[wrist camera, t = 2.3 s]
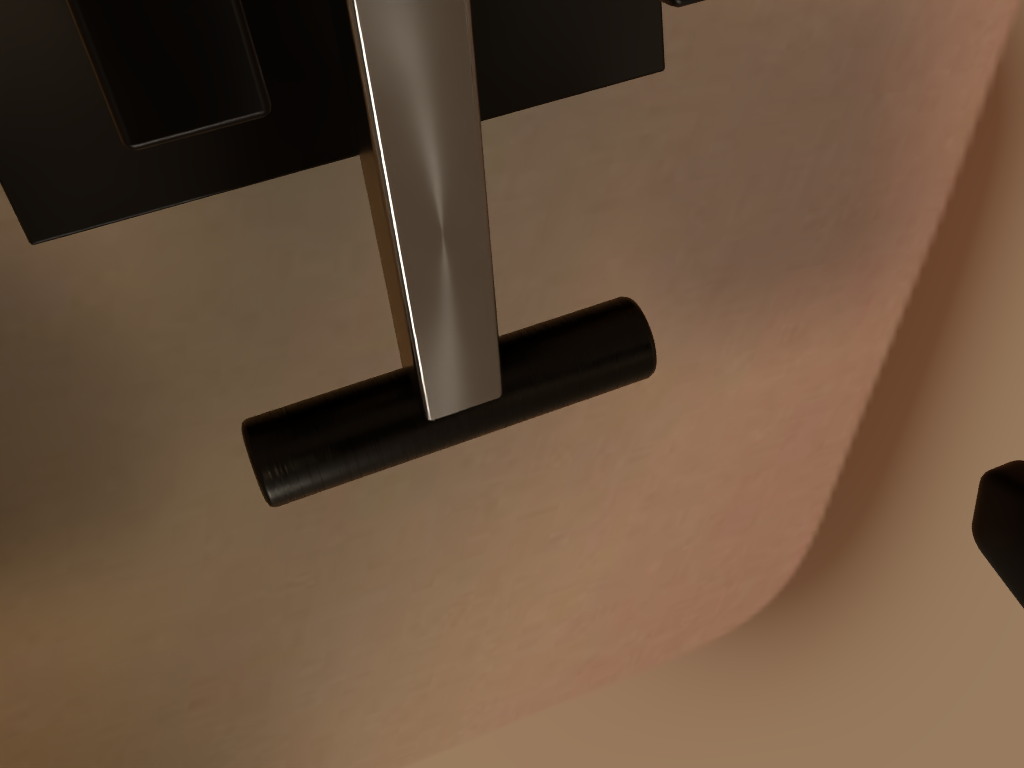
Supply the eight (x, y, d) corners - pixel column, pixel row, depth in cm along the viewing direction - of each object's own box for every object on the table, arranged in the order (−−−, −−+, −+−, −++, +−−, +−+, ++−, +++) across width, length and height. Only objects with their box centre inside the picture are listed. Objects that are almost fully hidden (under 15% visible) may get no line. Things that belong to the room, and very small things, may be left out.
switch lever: (601, 309, 15) (676, 424, 13) (246, 425, 14) (286, 564, 12) (633, -634, 7) (815, -604, 6) (-160, -546, 6) (-181, -482, 5)
